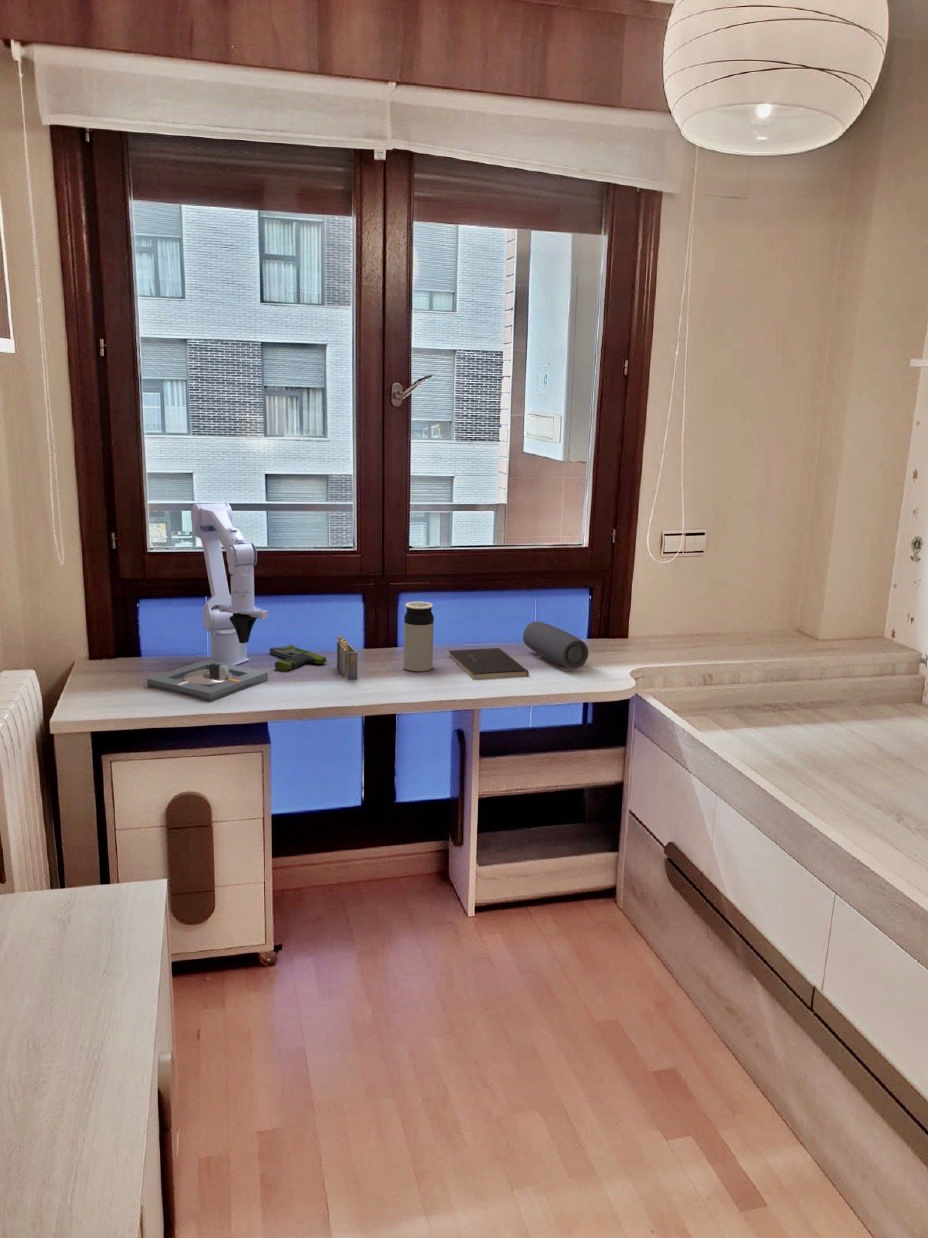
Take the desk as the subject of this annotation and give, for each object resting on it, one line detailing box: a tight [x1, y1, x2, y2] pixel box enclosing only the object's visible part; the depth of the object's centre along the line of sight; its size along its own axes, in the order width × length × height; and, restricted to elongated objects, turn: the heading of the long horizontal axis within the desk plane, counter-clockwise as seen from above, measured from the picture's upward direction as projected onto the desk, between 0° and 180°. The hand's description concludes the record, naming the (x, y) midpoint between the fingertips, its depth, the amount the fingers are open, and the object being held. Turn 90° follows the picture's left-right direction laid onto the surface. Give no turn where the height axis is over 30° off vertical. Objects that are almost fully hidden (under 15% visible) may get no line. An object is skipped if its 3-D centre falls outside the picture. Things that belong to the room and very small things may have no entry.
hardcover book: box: [448, 647, 530, 680], centre depth 265 cm, size 16×23×2 cm
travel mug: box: [403, 601, 435, 673], centre depth 259 cm, size 8×8×18 cm
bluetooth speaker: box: [522, 620, 589, 670], centre depth 270 cm, size 23×9×10 cm, turn 25°
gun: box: [269, 644, 328, 672], centre depth 264 cm, size 2×19×15 cm
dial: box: [184, 663, 233, 687], centre depth 241 cm, size 12×12×4 cm
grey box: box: [335, 635, 358, 681], centre depth 253 cm, size 11×3×10 cm, turn 22°
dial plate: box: [146, 658, 269, 703], centre depth 242 cm, size 21×21×2 cm
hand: (243, 642), depth 244 cm, fingers closed
